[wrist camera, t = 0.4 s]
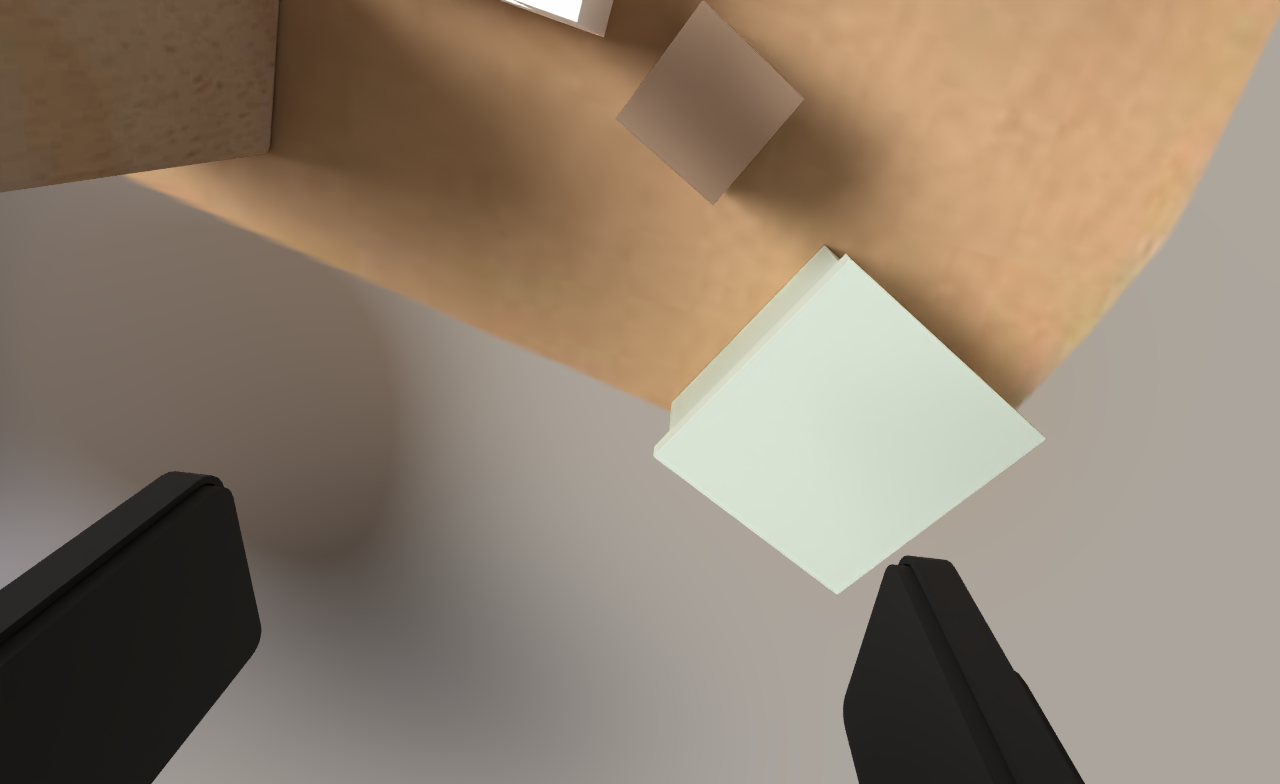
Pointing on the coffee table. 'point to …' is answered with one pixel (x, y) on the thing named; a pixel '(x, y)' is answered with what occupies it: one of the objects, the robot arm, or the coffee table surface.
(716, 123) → the walnut block
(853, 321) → the sage box
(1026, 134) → the coffee table surface
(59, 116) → the wooden block
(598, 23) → the bracket
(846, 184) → the coffee table surface
